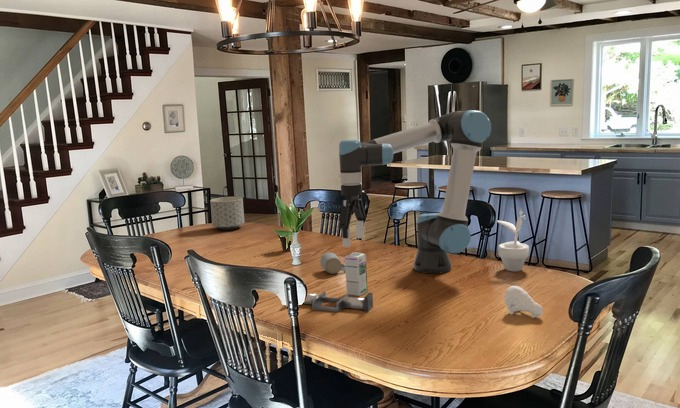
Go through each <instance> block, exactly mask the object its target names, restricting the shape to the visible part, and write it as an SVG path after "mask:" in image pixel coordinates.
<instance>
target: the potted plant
mask: <svg viewBox="0 0 680 408" xmlns="http://www.w3.org/2000/svg"><path fill="white" fill-rule="evenodd" d="M518 213H519V215H520V216H519V217H518V218H517V220H516V224H515V225H514V224H513V223H512V222H507V221H505V220H504V221H503V220H496V222H497V223H498V224H499V225H502V226H503V227H506V228H507V229H508V230H509V231H510V232H511V233H513V234H514V237H513V240H512V241H507V242H504V243H500V244H499V245H498V249H497V251H498V257H500V258H501V261H502V265H503V267H504V269H505V270H506V271H508V272H515V273H516V272H520V271H522V270H523V267H524V264H525V262H526V259H527V258H529V256H530V245H528V244H527V243H522V242H520V241H519V240H518V237H519V232H520V230H521V229H522V226H523V222H522V219H523V220H524V221H525V220H526V215H525V214H524V211H523V210H522V209H520V211H518ZM523 214H524V215H523Z"/></svg>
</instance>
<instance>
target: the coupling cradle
mask: <svg viewBox="0 0 680 408" xmlns="http://www.w3.org/2000/svg"><path fill="white" fill-rule="evenodd" d="M306 293H307V292H306ZM325 302H332V303H335V304H336V305H335V306H336V307H334V306H323V305H322V304H324V303H325ZM304 304H305V305H311V306H312V311H313V310H314V311H325V312H333V313H340V311H342V310H343V309H345V308H347V309H355V310H356V309H357V310H364V313H369V312H370V311H371V310H372V309H373V308H374V298H373V292H368V293H367V294H366V295H365V296H364V297H362V298H361V297H352V296H350V294H347V293H346V294H345V295H344V296H342V297H341V298H339V297H331V296H330V297H329V296H327V293H326V291H323V292H322V293H320V294H318V293H317V294H316V293H307V298H306V301H305V303H304ZM304 304H303V305H304Z"/></svg>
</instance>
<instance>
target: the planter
mask: <svg viewBox="0 0 680 408" xmlns="http://www.w3.org/2000/svg"><path fill="white" fill-rule="evenodd" d="M209 202H210V211H211V213H210V215H211V224H212V226H213V227H215V228H217V229H220V230H222V231H232V230H236V229H238V228H239V227H241V225H244V224H246V223H245V213H244V212H245V211H244V209H245V208H244V199H243V197H241V196H223V197H221V196H220V197H217V198H212V199H210V200H209Z"/></svg>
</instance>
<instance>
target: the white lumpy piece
mask: <svg viewBox="0 0 680 408" xmlns="http://www.w3.org/2000/svg"><path fill="white" fill-rule="evenodd" d="M503 299H504V303H505V305H506V308H507V311H508V313H509V315H511V316H513V315H514V313H515V312H520V311H521V312H526V313H530V315H531V316H530V317H531V318H532V319H535V318H536V319H539V318H540V316H542V315H543V312H544V309H543V307H542V305H540V304H539V303H537V302H536V301H534V299H533V298H532V297H531V296H530V295H529V293H528V292H527V291H526V290H525V289H524V288H522V287H520V286H518V285H511V286H510V287H508V288H507V289H506V290H505V295H504V297H503Z"/></svg>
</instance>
